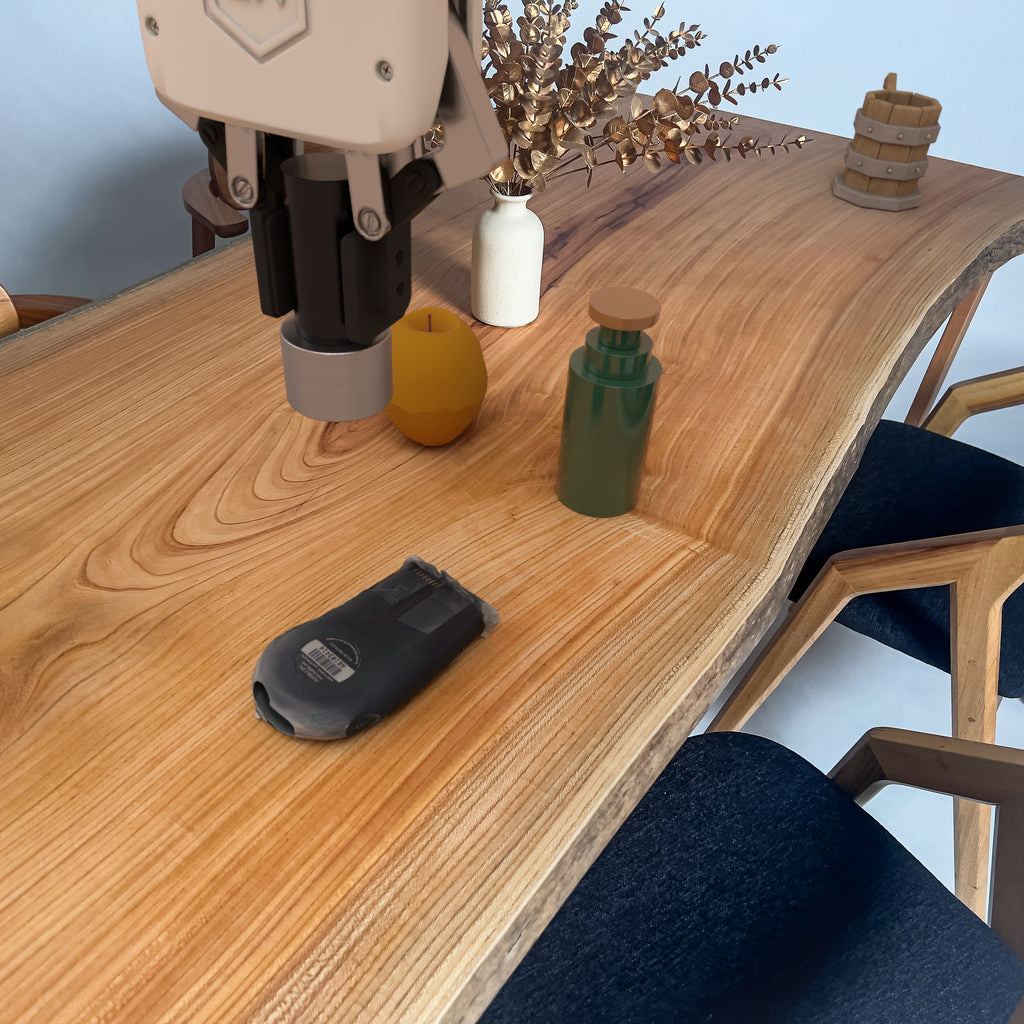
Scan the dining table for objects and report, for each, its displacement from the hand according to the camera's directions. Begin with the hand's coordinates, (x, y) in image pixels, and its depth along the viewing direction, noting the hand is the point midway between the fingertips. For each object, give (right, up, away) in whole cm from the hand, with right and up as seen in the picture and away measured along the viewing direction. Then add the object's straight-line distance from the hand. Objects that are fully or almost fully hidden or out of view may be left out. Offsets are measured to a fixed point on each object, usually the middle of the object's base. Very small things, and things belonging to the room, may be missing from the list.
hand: (335, 311), depth 34 cm
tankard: (+63, +43, +107) cm, 131 cm away
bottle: (+14, -6, +41) cm, 44 cm away
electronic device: (-3, -18, +25) cm, 31 cm away
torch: (0, -3, +2) cm, 4 cm away
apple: (-1, -1, +46) cm, 46 cm away
